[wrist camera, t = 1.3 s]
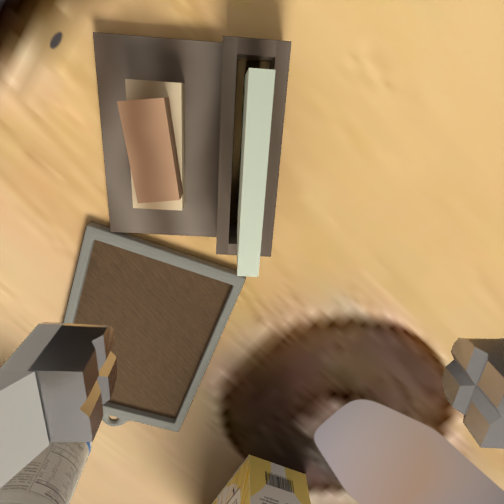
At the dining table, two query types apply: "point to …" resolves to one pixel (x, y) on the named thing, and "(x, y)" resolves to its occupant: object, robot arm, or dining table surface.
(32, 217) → the dining table surface
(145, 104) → the offcut upper
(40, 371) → the robot arm
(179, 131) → the offcut lower
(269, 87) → the grey-green rectangular panel
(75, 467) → the supplement tub
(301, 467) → the dining table surface
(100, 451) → the dining table surface
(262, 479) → the yellow product box
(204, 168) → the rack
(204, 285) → the grey brown flat frame
